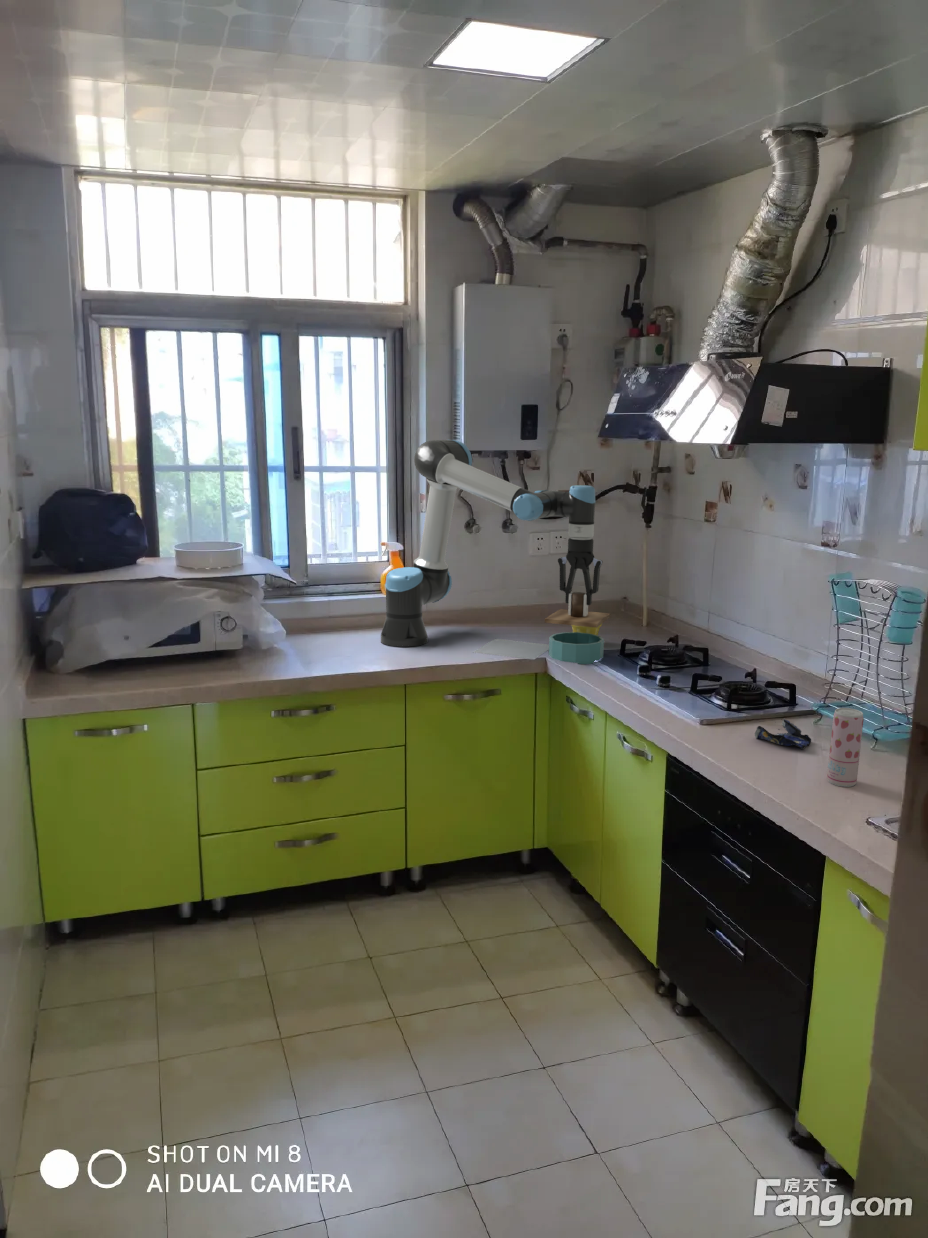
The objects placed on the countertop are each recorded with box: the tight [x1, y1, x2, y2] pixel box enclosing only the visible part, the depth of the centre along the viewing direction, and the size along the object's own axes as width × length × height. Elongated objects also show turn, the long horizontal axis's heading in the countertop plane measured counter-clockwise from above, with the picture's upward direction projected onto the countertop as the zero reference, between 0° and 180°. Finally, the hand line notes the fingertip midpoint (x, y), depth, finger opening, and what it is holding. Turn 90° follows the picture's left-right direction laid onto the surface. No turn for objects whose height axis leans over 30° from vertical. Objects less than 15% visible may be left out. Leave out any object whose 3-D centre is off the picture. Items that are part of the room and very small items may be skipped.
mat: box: [472, 638, 549, 660], centre depth 293 cm, size 20×20×1 cm
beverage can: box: [826, 707, 864, 788], centre depth 189 cm, size 6×6×15 cm
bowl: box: [548, 631, 605, 665], centre depth 285 cm, size 16×16×6 cm
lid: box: [544, 591, 611, 628], centre depth 283 cm, size 16×16×8 cm
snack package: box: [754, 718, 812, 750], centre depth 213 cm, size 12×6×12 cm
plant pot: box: [571, 623, 603, 636], centre depth 302 cm, size 10×10×10 cm
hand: (577, 614), depth 283 cm, fingers closed on lid, 4 cm apart
